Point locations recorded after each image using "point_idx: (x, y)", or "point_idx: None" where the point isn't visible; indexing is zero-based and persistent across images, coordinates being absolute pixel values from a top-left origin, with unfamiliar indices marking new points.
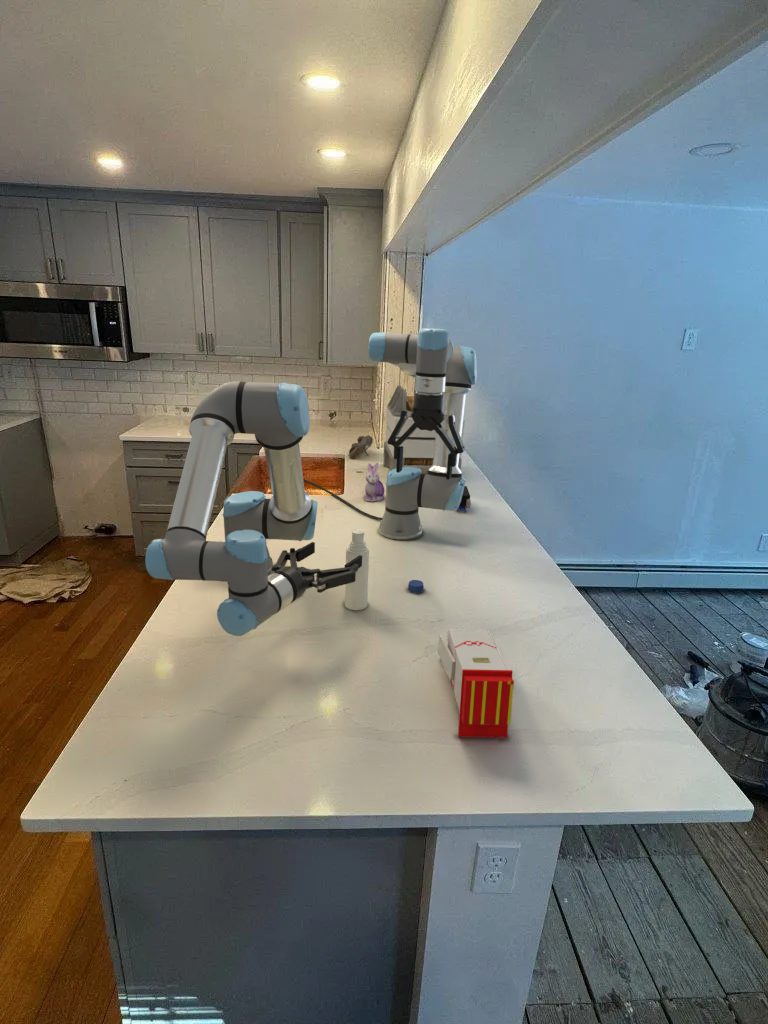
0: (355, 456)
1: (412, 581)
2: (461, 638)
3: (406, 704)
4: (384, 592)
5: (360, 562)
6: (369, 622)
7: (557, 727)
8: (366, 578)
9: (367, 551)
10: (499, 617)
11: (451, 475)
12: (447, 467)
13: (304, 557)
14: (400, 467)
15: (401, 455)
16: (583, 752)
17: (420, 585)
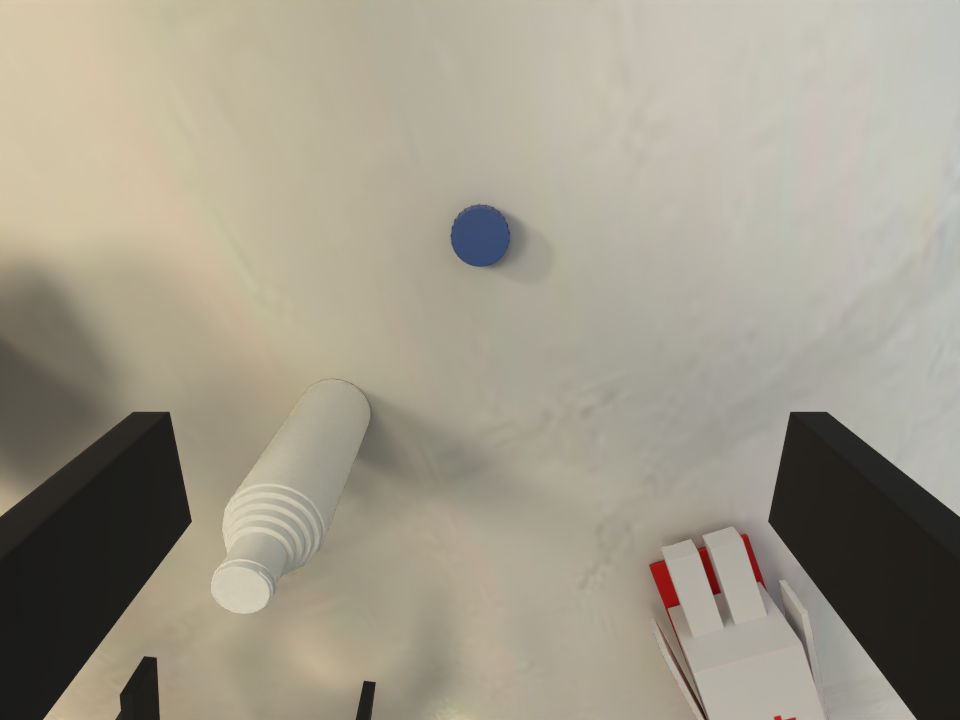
0: None
1: (462, 230)
2: (735, 714)
3: (602, 701)
4: (383, 299)
5: (371, 708)
6: (416, 482)
7: None
8: (349, 470)
9: (320, 532)
10: (793, 304)
11: (837, 427)
12: (856, 632)
13: (156, 711)
14: (155, 507)
15: (40, 623)
16: None
17: (501, 249)
